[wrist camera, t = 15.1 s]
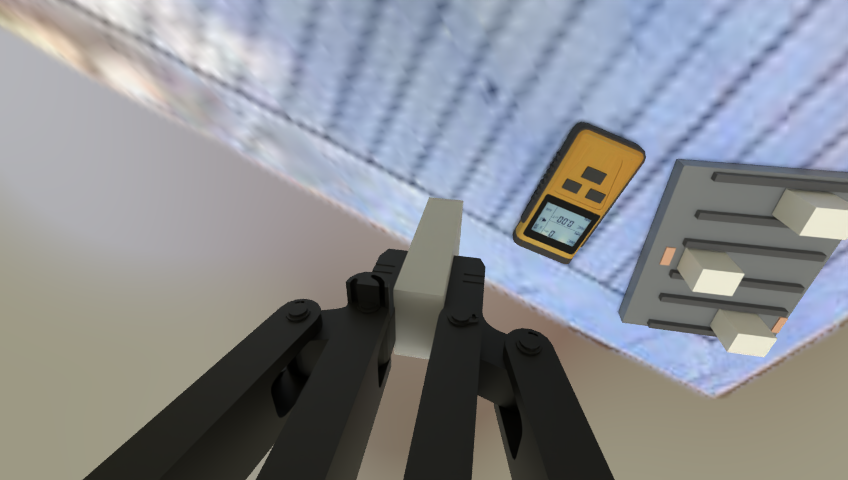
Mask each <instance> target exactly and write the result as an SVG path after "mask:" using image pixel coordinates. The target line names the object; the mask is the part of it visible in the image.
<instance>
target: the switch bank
mask: <svg viewBox="0 0 848 480" xmlns="http://www.w3.org/2000/svg"><path fill="white" fill-rule="evenodd" d="M786 188H788V189H800V190H811V191H823V192H831V193H833V194H835V195H836V196H838V197H840V198H842V199H843V200H845V201H847V202H848V173H847V172H835V171H822V170H809V169H796V168H784V167H771V166H758V165H746V164H733V163H720V162H707V161H695V160H682V159H677V160H676V163H675V166H674V168H673V171H672V173H671V176H670V179H669V181H668V184H667V186H666V189H665V192H664V194H663V197H662V200H661V202H660V205H659V207H658V210H657V213H656V215H655V218H654V221H653V223H652V226H651V228H650V231H649V234H648V236H647V239H646V242H645V244H644V247H643V249H642V252H641V255H640V257H639V260H638V263H637V265H636V268H635V270H634V273H633V276H632V278H631V281H630V283H629V286H628V289H627V291H626V294H625V297H624V299H623V302H622V304H621V307H620V310H619V312H618V313H619V315H620V318H621V321H622V323H630V324H637V325H645V326H648V327H649V328H655V329H663V330H670V331H678V332H685V333H692V334H700V335H707V336H715V337H717V336H716V334H715V333H714V331H713V330H712V328H711V327H710V324H711V322H712V321H713V319H714V317H715V315H716V313H717V312H718V310H719V309H723V310H731V311H739V312H747V313H755V314H757V315H758V316H759V317H760V318H761V320H762V321H763V322H764V323H765V324H766V326H767V327H768V328H769V329H770V330H771V332H772V333H773V334H774V335H775V336H776V334H777V333H779V331H780V330H781V328H782V327H783V325H784V324H785V322H786V321H787V320H788V317H789V315H790V314H791V313H792V311H793V310H794V308H795V307H796V305H797V304H798V302H799V301H800V299H801V298H802V297H803V295H804V294H805V292H806V291H807V289H808V288H809V286H810V285H811V284H812V282H813V281H814V279H815V278H816V276H817V275H818V273H819V272H820V270H821V269H822V268H823V266H824V265H825V263H826V262H827V260H828V259H829V257H830V256H831V255H832V253H833V252H834V250H835V249H836V247H837V246H838V244H839V243H840V241H841V239H830V238H820V237H810V236H800V235H798V234H797V233H795V232H794V231H793V230H792V229H790V228H789V227H788V226H786V225H785V224H784V223H782V222H781V221H780V220H778V219H777V218H776V217H774V216H773V215H772V213H773V211H774V209H775V208H776V206H777V204H778V202H779V200H780V199H781V197H782V195H783V193H784V191H785V190H786ZM685 248H696V249H705V250H714V251H724V252H725V253H726V254H727V255H728V256H729V257H730V258H731V259H732V260H733V261H734V263H735V264H736V265H737V266H738V267H739V268H740V269H741V270H742V271H743V272H744V273H745V274H744V276H743V278H742V280H741V281H740V283H739V285H738V287H737V288H736V290H735V292H734V294H733V295H732V296H726V295H718V294H710V293H701V292H693V291H692V290H691V289H690V287H689V286H688V284H687V283H686V281H685V280H684V278H683V277H682V275H681V274H680V272H679V271H678V269H677V266H678V264H679V262H680V259H681V257H682V255H683V253H684V251H685Z"/></svg>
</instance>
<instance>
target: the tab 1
mask: <svg viewBox="0 0 848 480" xmlns="http://www.w3.org/2000/svg"><path fill="white" fill-rule="evenodd" d="M677 269H678V271H679V272H680V274H681V275H682V277H683V278H684V280H685V281H686V283H687V284H688V286H689V287H690V289H691V290H692V291H693V292H701V293H710V294H718V295H726V296H732V295H733V294H734V292H735V290H736V288H737V287H738V285H739V283H740V281H741V280H742V278H743V276H744V274H745V273H744V272H743V271H742V270H741V269H740V268H739V267H738V266H737V265H736V264H735V263H734V261H733V260H732V259H731V258H730V257H729V256H728V255H727V254H726V253H725V252H724V251H714V250H705V249H696V248H685V251H684V253H683V255H682V257H681V259H680V262H679V264H678V266H677Z"/></svg>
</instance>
